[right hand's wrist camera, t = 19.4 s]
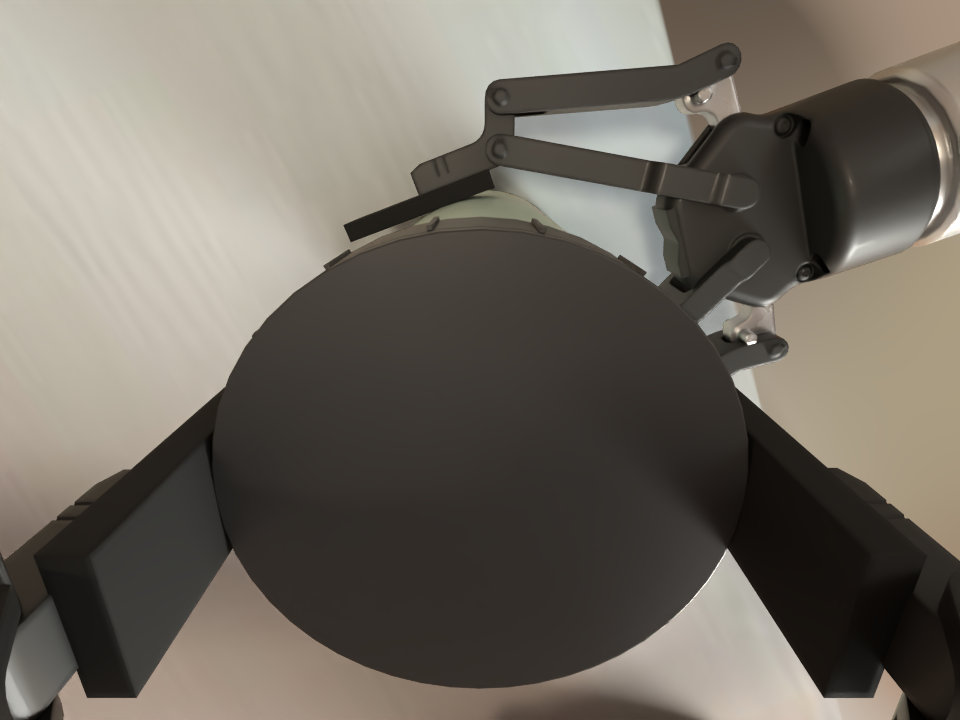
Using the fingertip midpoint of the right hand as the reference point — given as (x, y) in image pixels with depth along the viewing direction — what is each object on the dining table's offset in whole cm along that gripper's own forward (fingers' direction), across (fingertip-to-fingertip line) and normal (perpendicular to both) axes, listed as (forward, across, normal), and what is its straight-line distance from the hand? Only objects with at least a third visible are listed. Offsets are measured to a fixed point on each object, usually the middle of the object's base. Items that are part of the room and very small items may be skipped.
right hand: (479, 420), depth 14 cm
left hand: (+12, -4, -2) cm, 12 cm away
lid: (-3, 0, 0) cm, 3 cm away
